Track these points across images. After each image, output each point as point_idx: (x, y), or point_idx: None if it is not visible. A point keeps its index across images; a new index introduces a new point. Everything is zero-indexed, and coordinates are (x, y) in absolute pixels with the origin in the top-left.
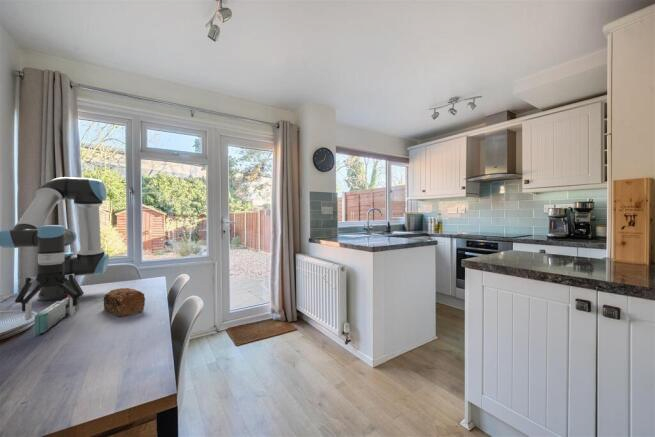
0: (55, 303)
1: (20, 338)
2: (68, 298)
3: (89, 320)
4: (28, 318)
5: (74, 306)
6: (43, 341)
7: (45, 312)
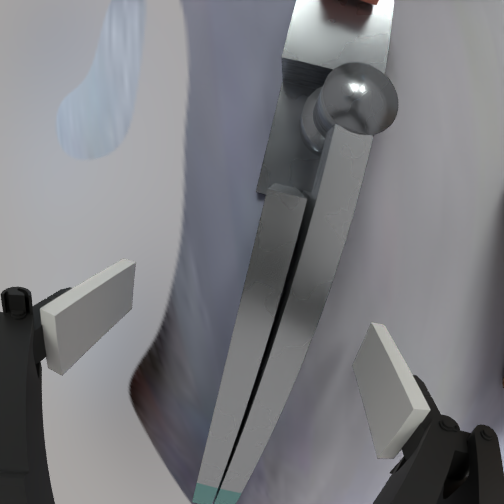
0: (260, 299)
1: (171, 417)
2: (377, 116)
3: (422, 358)
4: (127, 307)
5: (398, 356)
6: (253, 480)
7: (229, 491)
